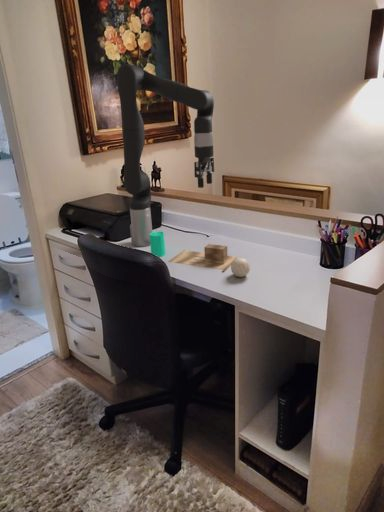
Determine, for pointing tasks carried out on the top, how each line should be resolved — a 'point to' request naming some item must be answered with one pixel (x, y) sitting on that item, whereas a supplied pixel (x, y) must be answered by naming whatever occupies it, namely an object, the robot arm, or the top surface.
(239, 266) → the baseball
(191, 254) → the board
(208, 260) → the block
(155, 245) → the candle
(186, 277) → the top surface
